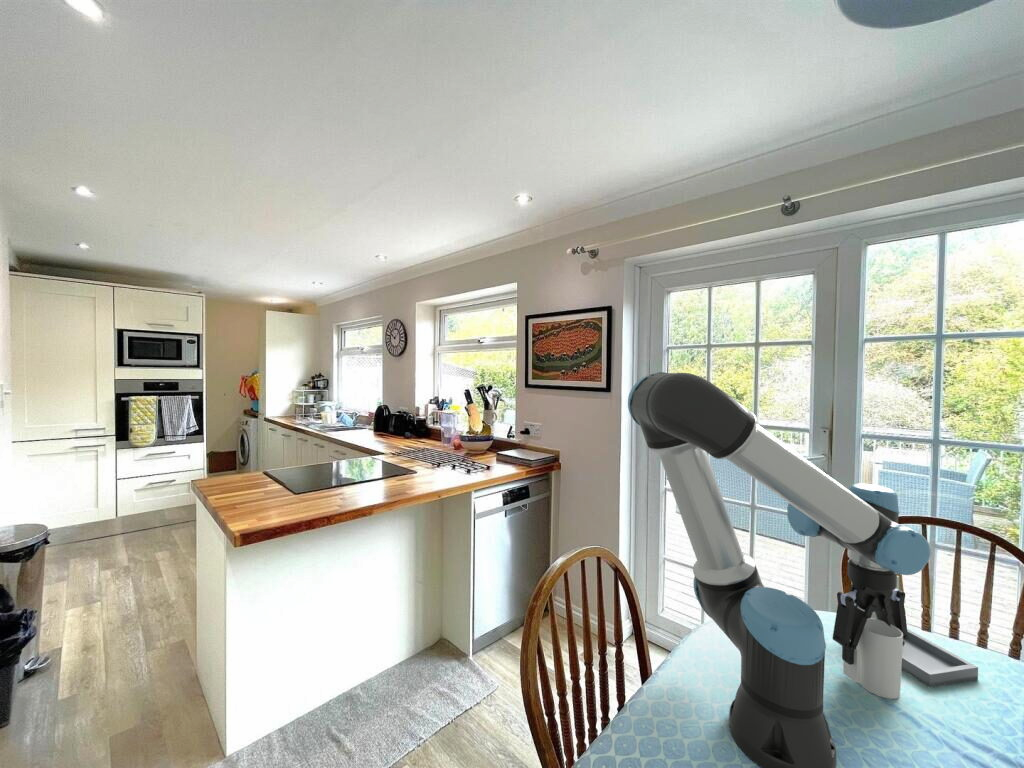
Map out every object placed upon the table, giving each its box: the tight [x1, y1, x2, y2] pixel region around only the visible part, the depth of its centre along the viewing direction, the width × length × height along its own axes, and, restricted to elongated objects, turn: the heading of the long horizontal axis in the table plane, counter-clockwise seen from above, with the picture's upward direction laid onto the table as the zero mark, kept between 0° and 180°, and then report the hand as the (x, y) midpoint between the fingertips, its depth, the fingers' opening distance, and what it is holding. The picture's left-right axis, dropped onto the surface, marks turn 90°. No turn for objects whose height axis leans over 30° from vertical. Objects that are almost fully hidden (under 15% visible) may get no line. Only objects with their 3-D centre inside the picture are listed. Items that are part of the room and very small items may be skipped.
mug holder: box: [857, 575, 979, 689], centre depth 92 cm, size 12×16×14 cm
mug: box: [850, 618, 903, 700], centre depth 85 cm, size 10×7×12 cm, turn 17°
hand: (869, 675), depth 85 cm, fingers open, 8 cm apart
